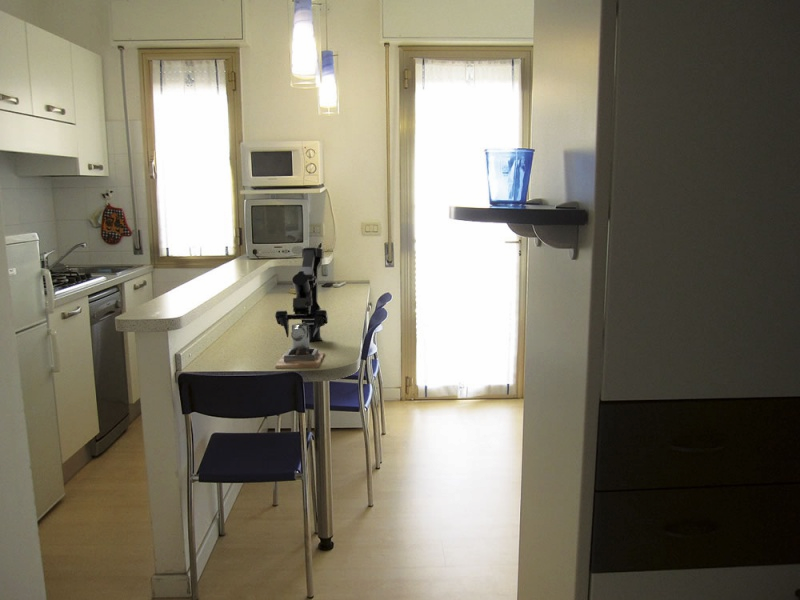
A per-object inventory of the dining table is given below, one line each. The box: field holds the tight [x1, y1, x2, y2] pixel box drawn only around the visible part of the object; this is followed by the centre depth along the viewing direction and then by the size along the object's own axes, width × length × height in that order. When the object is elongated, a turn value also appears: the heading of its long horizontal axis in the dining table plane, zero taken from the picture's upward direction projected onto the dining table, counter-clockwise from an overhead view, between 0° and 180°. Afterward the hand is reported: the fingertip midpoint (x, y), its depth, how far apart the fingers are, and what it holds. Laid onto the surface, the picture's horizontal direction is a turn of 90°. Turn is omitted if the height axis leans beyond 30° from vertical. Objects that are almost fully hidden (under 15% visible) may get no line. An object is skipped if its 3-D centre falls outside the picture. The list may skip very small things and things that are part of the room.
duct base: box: [275, 347, 325, 369], centre depth 233 cm, size 18×15×3 cm
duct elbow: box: [290, 322, 311, 355], centre depth 232 cm, size 10×6×12 cm, turn 0°
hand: (300, 336), depth 232 cm, fingers open, 9 cm apart
